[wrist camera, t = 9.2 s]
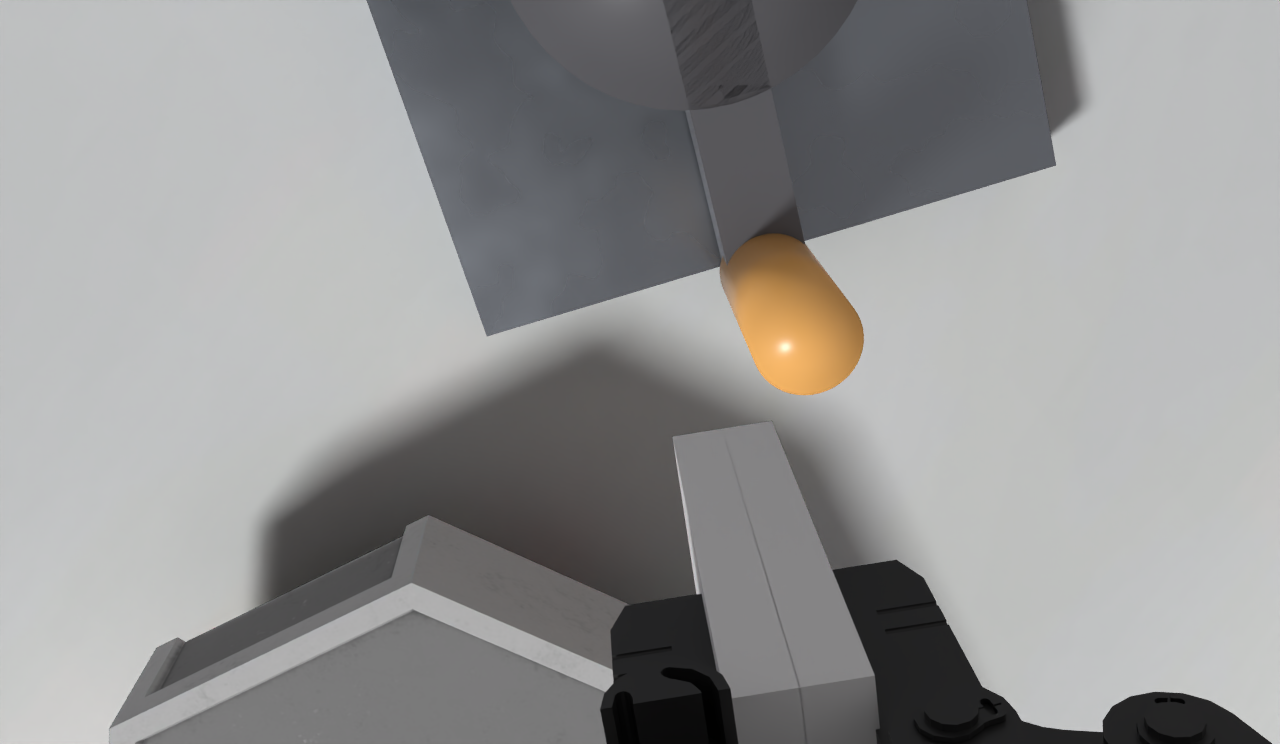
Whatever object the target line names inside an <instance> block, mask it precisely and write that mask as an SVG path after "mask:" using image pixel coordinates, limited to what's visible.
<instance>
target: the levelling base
mask: <svg viewBox="0 0 1280 744" xmlns="http://www.w3.org/2000/svg"><path fill="white" fill-rule="evenodd" d="M367 3H368V5H369V8H370V11H371V14H372V17H373V19H374V22H375V25H376V28H377V31H378V33H379V36H380V39H381V42H382V44H383V47H384V50H385V53H386V56H387V58H388V61H389V64H390V67H391V70H392V72H393V75H394V78H395V81H396V84H397V86H398V89H399V92H400V95H401V98H402V100H403V103H404V106H405V109H406V111H407V114H408V117H409V120H410V123H411V125H412V128H413V131H414V134H415V137H416V139H417V142H418V145H419V148H420V151H421V153H422V156H423V159H424V162H425V164H426V167H427V170H428V173H429V176H430V178H431V181H432V184H433V187H434V190H435V192H436V195H437V198H438V201H439V204H440V206H441V209H442V212H443V215H444V217H445V220H446V223H447V226H448V229H449V231H450V234H451V237H452V240H453V243H454V245H455V248H456V251H457V254H458V257H459V259H460V262H461V265H462V268H463V270H464V273H465V276H466V279H467V282H468V284H469V287H470V290H471V293H472V296H473V298H474V301H475V304H476V307H477V310H478V312H479V315H480V318H481V321H482V324H483V326H484V329H485V332H486V335H487V336H490V335H493V334H496V333H500V332H503V331H506V330H510V329H513V328H516V327H520V326H523V325H526V324H530V323H533V322H536V321H540V320H543V319H546V318H550V317H553V316H556V315H560V314H563V313H566V312H570V311H573V310H576V309H580V308H583V307H586V306H590V305H593V304H596V303H600V302H603V301H606V300H609V299H613V298H616V297H619V296H623V295H626V294H629V293H633V292H636V291H639V290H643V289H646V288H649V287H653V286H656V285H659V284H663V283H666V282H669V281H673V280H676V279H679V278H683V277H686V276H689V275H693V274H696V273H699V272H703V271H706V270H709V269H713V268H716V267H719V266H720V264H721V256H720V252H719V247H718V243H717V239H716V235H715V231H714V227H713V223H712V219H711V215H710V211H709V206H708V202H707V198H706V194H705V190H704V186H703V182H702V178H701V174H700V169H699V165H698V161H697V157H696V153H695V149H694V145H693V141H692V137H691V133H690V128H689V124H688V120H687V116H686V112H685V111H679V110H665V109H655V108H650V107H646V106H641V105H636V104H632V103H629V102H626V101H623V100H621V99H618V98H615V97H612V96H609V95H607V94H605V93H603V92H601V91H599V90H597V89H596V88H594V87H592V86H590V85H588V84H586V83H585V82H583V81H582V80H580V79H579V78H577V77H576V76H574V75H573V74H572V73H570V72H569V71H567V70H566V69H565V68H564V67H563V66H561V65H560V64H559V63H558V62H557V61H556V60H555V59H554V58H552V57H551V56H550V55H549V54H548V53H547V52H546V51H545V50H544V48H543V47H542V46H541V45H540V44H539V43H538V41H537V40H536V39H535V38H534V37H533V36H532V35H531V33H530V32H529V30H528V29H527V27H526V26H525V24H524V23H523V21H522V20H521V18H520V17H519V15H518V14H517V12H516V11H515V9H514V7H513V5H512V3H511V1H510V0H367ZM771 91H772V95H773V100H774V105H775V109H776V114H777V118H778V123H779V127H780V132H781V137H782V141H783V146H784V150H785V155H786V160H787V164H788V169H789V173H790V178H791V182H792V187H793V192H794V196H795V201H796V205H797V210H798V215H799V219H800V224H801V228H802V233H803V237H804V241H806V240H809V239H813V238H816V237H819V236H823V235H826V234H829V233H833V232H836V231H839V230H843V229H846V228H849V227H853V226H856V225H859V224H863V223H866V222H869V221H873V220H876V219H879V218H883V217H886V216H889V215H893V214H896V213H899V212H902V211H906V210H909V209H912V208H916V207H919V206H922V205H926V204H929V203H932V202H936V201H939V200H942V199H946V198H949V197H952V196H956V195H959V194H962V193H966V192H969V191H972V190H976V189H979V188H982V187H986V186H989V185H992V184H996V183H999V182H1002V181H1006V180H1009V179H1012V178H1016V177H1019V176H1022V175H1026V174H1029V173H1032V172H1036V171H1039V170H1042V169H1046V168H1049V167H1052V166H1056V162H1055V157H1054V151H1053V145H1052V140H1051V134H1050V129H1049V123H1048V117H1047V112H1046V106H1045V101H1044V95H1043V89H1042V84H1041V78H1040V73H1039V67H1038V61H1037V56H1036V50H1035V45H1034V39H1033V33H1032V28H1031V22H1030V17H1029V11H1028V5H1027V0H857V2H856V4H855V6H854V8H853V10H852V11H851V13H850V15H849V16H848V18H847V19H846V21H845V22H844V23H843V25H842V26H841V28H840V29H839V30H838V32H837V33H836V35H835V36H834V37H833V38H832V39H831V40H830V41H829V43H828V44H827V45H826V46H825V47H824V48H823V49H822V50H821V51H820V53H819V54H818V55H817V56H815V57H814V58H813V59H812V60H811V61H810V62H808V63H807V64H806V65H805V66H804V67H803V68H801V69H800V70H799V71H798V72H796V73H795V74H793V75H792V76H790V77H789V78H787V79H786V80H784V81H783V82H781V83H780V84H778V85H777V86H775V87H773V88H771Z"/></svg>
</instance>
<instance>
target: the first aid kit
mask: <svg viewBox="0 0 1280 744" xmlns="http://www.w3.org/2000/svg"><path fill="white" fill-rule="evenodd" d="M627 605H629V604H627V603H625V602H623V601H620V600H618V599H616V598H614V597H611V596H609V595H607V594H605V593H602V592H600V591H598V590H596V589H593V588H591V587H589V586H587V585H584V584H582V583H580V582H578V581H576V580H573V579H571V578H569V577H567V576H564V575H562V574H560V573H558V572H555V571H553V570H551V569H549V568H546V567H544V566H542V565H540V564H537V563H535V562H533V561H531V560H528V559H526V558H524V557H522V556H519V555H517V554H515V553H513V552H511V551H508V550H506V549H504V548H502V547H499V546H497V545H495V544H493V543H490V542H488V541H486V540H484V539H481V538H479V537H477V536H475V535H472V534H470V533H468V532H466V531H463V530H461V529H459V528H457V527H454V526H452V525H450V524H448V523H445V522H443V521H441V520H439V519H437V518H434V517H432V516H430V515H427V516H425V517H423V518H421V519H419V520H417V521H415V522H413V523H411V524H409V525H407V526H406V528H405V532H404V535H403V536H402V537H400V538H398V539H396V540H394V541H392V542H390V543H388V544H386V545H384V546H382V547H380V548H378V549H376V550H374V551H371V552H369V553H367V554H365V555H363V556H361V557H359V558H357V559H355V560H353V561H351V562H349V563H347V564H345V565H343V566H341V567H339V568H337V569H335V570H333V571H330V572H328V573H326V574H324V575H322V576H320V577H318V578H316V579H314V580H312V581H310V582H308V583H306V584H304V585H302V586H300V587H298V588H296V589H294V590H292V591H289V592H287V593H285V594H283V595H281V596H279V597H277V598H275V599H273V600H271V601H269V602H267V603H265V604H263V605H261V606H259V607H257V608H255V609H253V610H251V611H248V612H246V613H244V614H242V615H240V616H238V617H236V618H234V619H232V620H230V621H228V622H226V623H224V624H222V625H220V626H218V627H216V628H214V629H212V630H210V631H208V632H205V633H203V634H201V635H199V636H197V637H195V638H193V639H191V640H189V641H187V642H185V641H183V640H181V639H180V638H176V639H174V640H171V641H169V642H167V643H165V644H163V645H161V646H159V647H157V648H156V650H155V651H154V653H153V655H152V656H151V658H150V660H149V662H148V663H147V665H146V667H145V668H144V670H143V672H142V674H141V675H140V677H139V679H138V680H137V682H136V684H135V685H134V687H133V689H132V691H131V692H130V694H129V696H128V697H127V699H126V701H125V703H124V704H123V706H122V708H121V709H120V711H119V713H118V715H117V716H116V718H115V720H114V721H113V723H112V725H111V726H110V728H109V744H607V743H606V738H605V733H604V727H603V722H602V717H601V712H600V708H601V704H602V700H603V696H604V693H605V692H606V691H607V690H608V689H609V688H610V687H611V685H612V684H613V681H614V680H613V669H612V652H611V634H610V630H611V628H612V627H613V625H614V623H615V622H616V620H617V618H618V617H619V615H620V613H621V612H622V610H623V608H624V607H625V606H627Z"/></svg>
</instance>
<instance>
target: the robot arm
mask: <svg viewBox="0 0 1280 744" xmlns="http://www.w3.org/2000/svg"><path fill="white" fill-rule="evenodd" d="M672 437H673V443H674V450H675V456H676V463H677V470H678V476H679V483H680V489H681V496H682V502H683V509H684V516H685V522H686V529H687V535H688V542H689V548H690V555H691V562H692V568H693V575H694V581H695V588H696V595H690V596H684V597H677V598H671V599H665V600H658V601H652V602H646V603H640V604H633V605H627V606H625V607H624V608H623V610H622V612H621V613H620V615H619V617H618V618H617V620H616V622H615V623H614V625H613V627H612V628H611V630H610V634H611V652H612V669H613V680H614V681H613V684H612V685H611V687H610V688H609V689H608V690H607V691H606V692H605V693H604V696H603V700H602V704H601V708H600V712H601V717H602V722H603V727H604V733H605V738H606V743H607V744H1272V743H1271V742H1269V741H1268V740H1267V739H1265V738H1264V737H1263V736H1261V735H1260V734H1259V733H1258V732H1256V731H1255V730H1254V729H1252V728H1251V727H1250V726H1248V725H1247V724H1246V723H1244V722H1243V721H1242V720H1240V719H1239V718H1238V717H1237V716H1235V715H1234V714H1233V713H1231V712H1229V711H1227V710H1226V709H1224V708H1222V707H1220V706H1218V705H1217V704H1215V703H1213V702H1211V701H1209V700H1205V699H1202V698H1198V697H1194V696H1191V695H1187V694H1183V693H1166V692H1152V693H1147V694H1141V695H1136V696H1131V697H1129V698H1127V699H1125V700H1123V701H1121V702H1120V703H1118V704H1116V705H1114V706H1112V708H1111V709H1110V711H1109V712H1108V714H1107V715H1106V717H1105V718H1104V720H1103V732H1089V731H1072V730H1060V729H1053V728H1046V727H1041V726H1037V725H1034V724H1030V723H1027V722H1024V721H1021V719H1020V717H1019V716H1018V714H1017V712H1016V711H1015V710H1014V709H1013V707H1012V706H1011V705H1010V704H1009V703H1008V702H1007V701H1006V700H1005V699H1004V698H1003V697H1001V696H999V695H997V694H995V693H993V692H991V691H989V690H987V689H985V688H983V687H982V686H981V684H980V682H979V680H978V678H977V677H976V675H975V673H974V671H973V669H972V667H971V665H970V663H969V662H968V660H967V658H966V656H965V654H964V652H963V650H962V649H961V647H960V645H959V643H958V641H957V639H956V637H955V636H954V634H953V632H952V630H951V628H950V626H949V625H947V623H946V619H945V617H944V615H943V613H942V611H941V610H940V608H939V606H937V604H936V600H935V598H934V597H933V595H932V593H931V591H930V589H929V587H928V585H927V584H926V582H925V580H924V578H923V577H922V576H920V575H918V574H917V573H915V572H914V571H912V570H911V569H909V568H908V567H906V566H905V565H903V564H902V563H900V562H899V561H897V560H893V561H886V562H880V563H874V564H867V565H861V566H855V567H848V568H842V569H836V570H832V568H831V566H830V563H829V561H828V558H827V556H826V553H825V551H824V549H823V546H822V544H821V541H820V539H819V536H818V534H817V531H816V529H815V526H814V524H813V521H812V519H811V516H810V514H809V511H808V509H807V506H806V504H805V502H804V499H803V497H802V494H801V492H800V489H799V487H798V484H797V482H796V479H795V477H794V474H793V472H792V469H791V467H790V464H789V462H788V459H787V457H786V455H785V452H784V450H783V447H782V445H781V442H780V440H779V437H778V435H777V432H776V430H775V427H774V425H773V422H772V421H767V422H761V423H754V424H748V425H742V426H735V427H729V428H723V429H716V430H710V431H704V432H698V433H691V434H685V435H679V436H672Z"/></svg>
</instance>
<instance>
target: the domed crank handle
mask: <svg viewBox="0 0 1280 744" xmlns="http://www.w3.org/2000/svg"><path fill="white" fill-rule="evenodd" d="M510 1H511V3H512V5H513V7H514V9H515V11H516V12H517V14H518V15H519V17H520V18H521V20H522V21H523V23H524V24H525V26H526V27H527V29H528V30H529V32H530V33H531V35H532V36H533V37H534V38H535V39H536V40H537V41H538V43H539V44H540V45H541V46H542V47H543V48H544V50H545V51H546V52H547V53H548V54H549V55H550V56H551V57H552V58H554V59H555V60H556V61H557V62H558V63H559V64H560V65H561V66H563V67H564V68H565V69H566V70H567V71H569V72H570V73H572V74H573V75H574V76H576V77H577V78H579V79H580V80H582V81H583V82H585V83H586V84H588V85H590V86H592V87H594V88H596V89H597V90H599V91H601V92H603V93H605V94H607V95H609V96H612V97H615V98H618V99H621V100H623V101H626V102H629V103H632V104H636V105H641V106H646V107H650V108H655V109H665V110H679V111H685V112H686V116H687V120H688V124H689V128H690V133H691V137H692V141H693V145H694V149H695V153H696V157H697V161H698V165H699V169H700V174H701V178H702V182H703V186H704V190H705V194H706V198H707V202H708V206H709V211H710V215H711V219H712V223H713V227H714V231H715V235H716V239H717V243H718V247H719V252H720V256H721V264H720V279H721V284H722V287H723V289H724V292H725V294H726V296H727V299H728V301H729V303H730V306H731V308H732V310H733V313H734V315H735V317H736V320H737V322H738V324H739V327H740V329H741V331H742V334H743V336H744V338H745V341H746V343H747V345H748V348H749V350H750V353H751V355H752V357H753V360H754V362H755V364H756V366H757V368H758V370H759V372H760V373H761V375H762V376H763V377H764V378H765V379H766V380H767V381H768V382H769V383H770V384H771V385H773V386H774V387H776V388H778V389H780V390H782V391H784V392H787V393H790V394H796V395H813V394H818V393H821V392H824V391H827V390H829V389H831V388H833V387H835V386H837V385H838V384H840V383H841V382H842V381H843V380H845V379H846V378H847V377H848V376H849V375H850V373H851V372H852V371H853V369H854V368H855V366H856V365H857V363H858V361H859V359H860V356H861V353H862V349H863V343H864V334H863V327H862V324H861V320H860V318H859V316H858V314H857V312H856V311H855V309H854V308H853V307H852V305H851V304H850V303H849V301H848V300H847V299H846V297H845V296H844V295H843V293H842V292H841V291H840V289H839V288H838V287H837V285H836V284H835V283H834V281H833V280H832V279H831V277H830V276H829V275H828V273H827V272H826V271H825V269H824V268H823V267H822V265H821V264H820V263H819V261H818V260H817V259H816V258H815V256H814V255H813V254H812V252H811V251H810V250H809V248H808V247H807V246H806V244H805V242H804V237H803V233H802V228H801V224H800V219H799V215H798V210H797V205H796V201H795V196H794V192H793V187H792V182H791V178H790V173H789V169H788V164H787V160H786V155H785V150H784V146H783V141H782V137H781V132H780V127H779V123H778V118H777V114H776V109H775V105H774V100H773V95H772V91H771V88H773V87H775V86H777V85H778V84H780V83H781V82H783V81H784V80H786V79H787V78H789V77H790V76H792V75H793V74H795V73H796V72H798V71H799V70H800V69H801V68H803V67H804V66H805V65H806V64H807V63H808V62H810V61H811V60H812V59H813V58H814V57H815V56H817V55H818V54H819V53H820V51H821V50H822V49H823V48H824V47H825V46H826V45H827V44H828V43H829V41H830V40H831V39H832V38H833V37H834V36H835V35H836V33H837V32H838V30H839V29H840V28H841V26H842V25H843V23H844V22H845V21H846V19H847V18H848V16H849V15H850V13H851V11H852V10H853V8H854V6H855V4H856V2H857V0H510Z"/></svg>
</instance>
